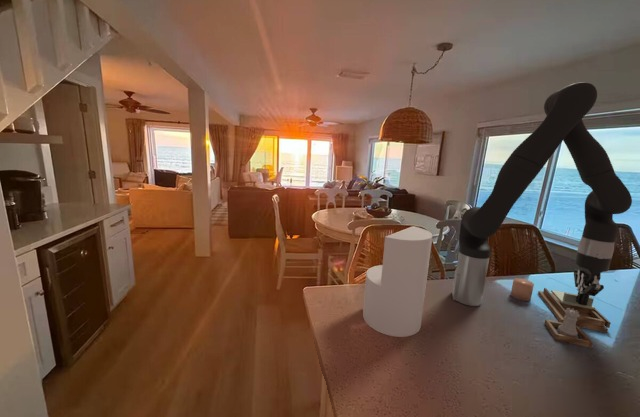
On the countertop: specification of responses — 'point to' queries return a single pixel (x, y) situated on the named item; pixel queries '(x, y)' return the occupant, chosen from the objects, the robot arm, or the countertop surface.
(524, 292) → the tan rounded block
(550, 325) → the wooden square frame
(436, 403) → the countertop surface
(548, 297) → the shallow wooden box
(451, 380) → the countertop surface
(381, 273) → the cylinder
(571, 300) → the cover
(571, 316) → the rook chess piece
